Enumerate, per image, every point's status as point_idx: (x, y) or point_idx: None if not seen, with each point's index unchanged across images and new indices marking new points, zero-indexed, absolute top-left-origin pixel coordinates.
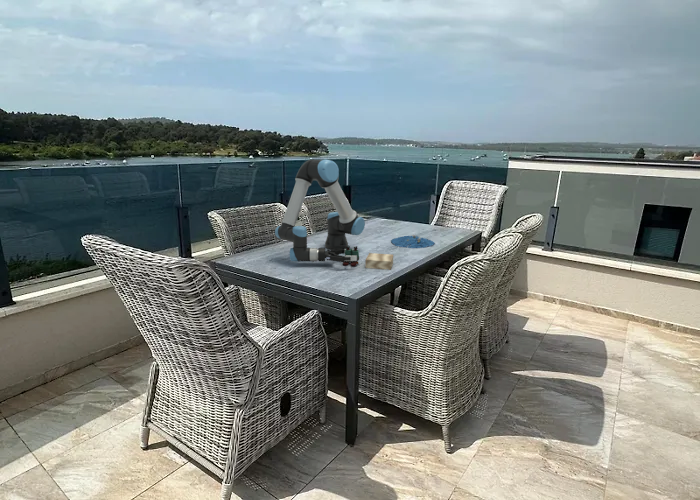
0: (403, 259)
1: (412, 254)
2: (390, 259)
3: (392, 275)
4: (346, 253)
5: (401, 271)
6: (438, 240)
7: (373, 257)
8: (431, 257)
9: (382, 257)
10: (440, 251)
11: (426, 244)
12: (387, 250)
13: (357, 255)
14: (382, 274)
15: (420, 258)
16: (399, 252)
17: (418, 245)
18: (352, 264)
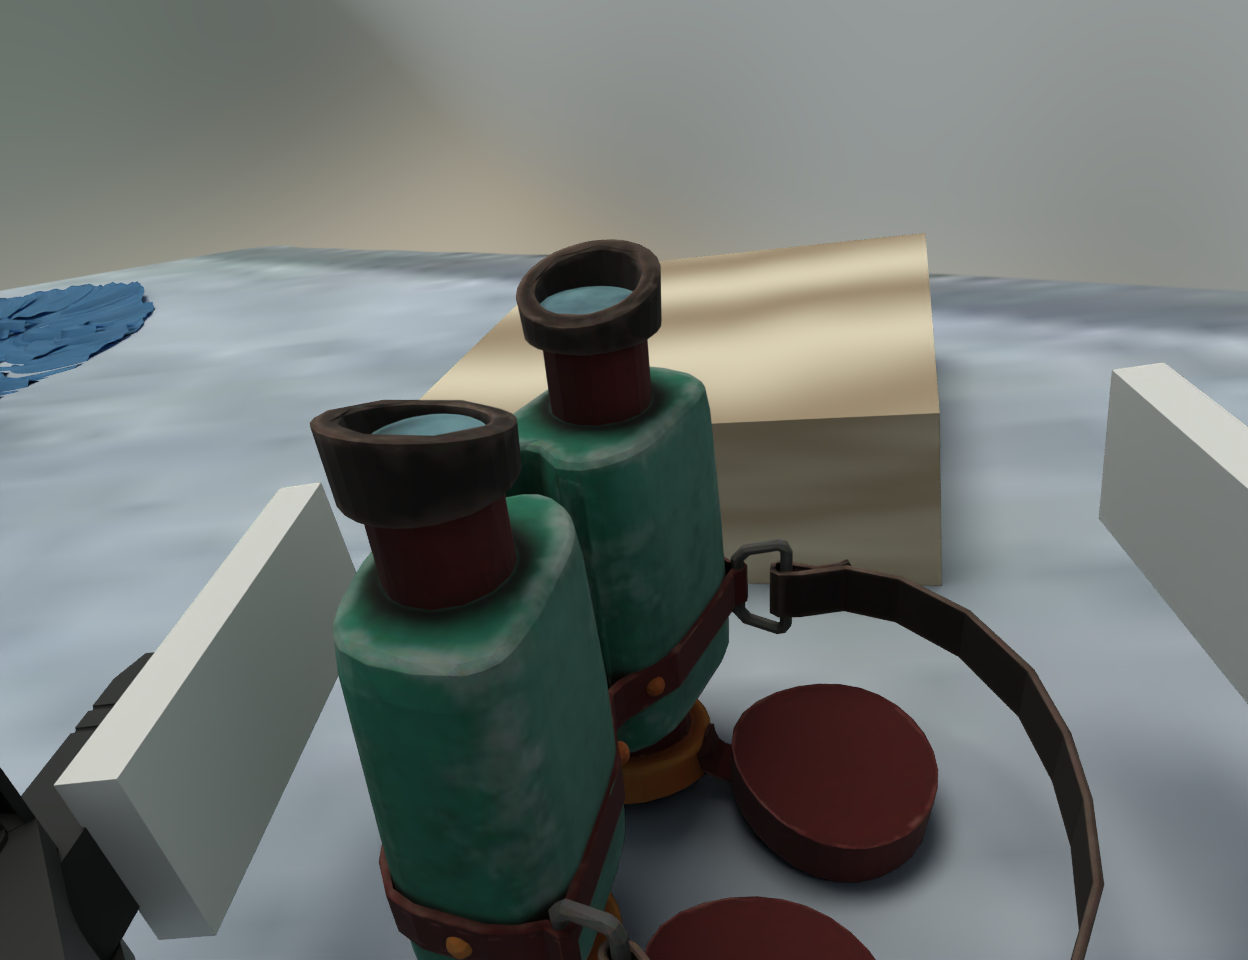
0: (473, 342)
1: (317, 326)
2: (810, 251)
3: (1201, 321)
4: (562, 740)
5: (965, 300)
6: (24, 293)
7: (715, 363)
8: (460, 259)
9: (705, 304)
10: (315, 257)
11: (100, 298)
12: (18, 465)
13: (718, 497)
14: (1233, 384)
15: (471, 286)
16: (186, 388)
17: (72, 328)
18: (911, 783)
